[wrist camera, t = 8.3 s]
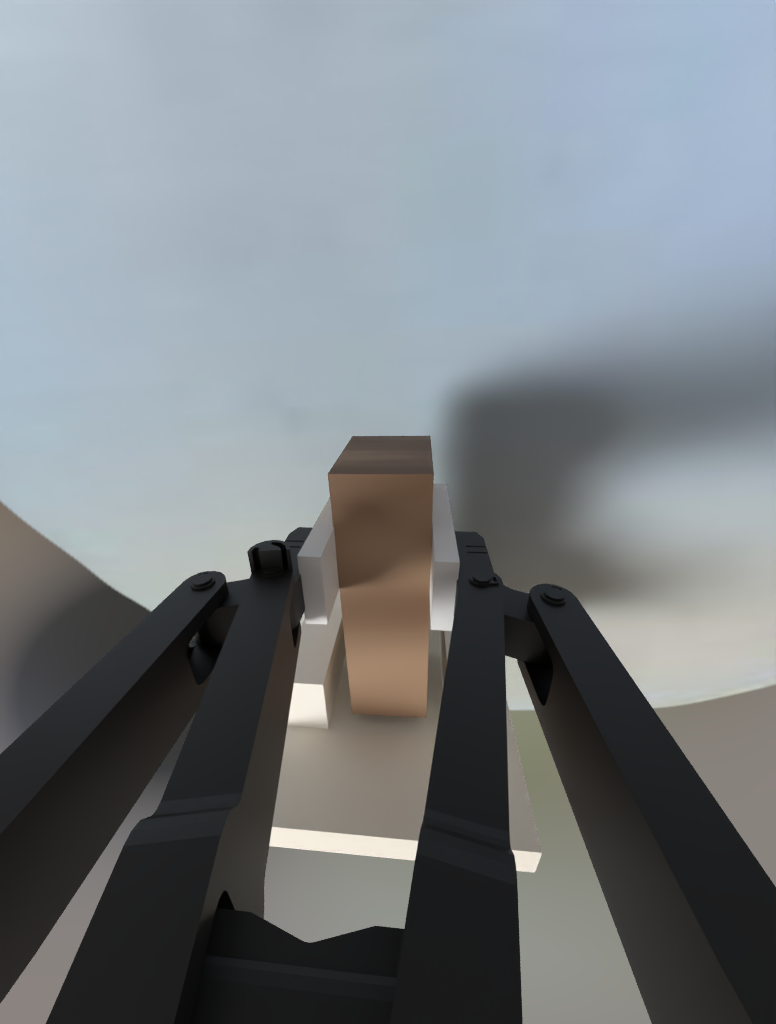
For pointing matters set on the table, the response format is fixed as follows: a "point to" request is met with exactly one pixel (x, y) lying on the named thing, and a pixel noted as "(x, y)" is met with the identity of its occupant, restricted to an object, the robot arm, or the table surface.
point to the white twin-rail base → (369, 761)
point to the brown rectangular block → (385, 569)
